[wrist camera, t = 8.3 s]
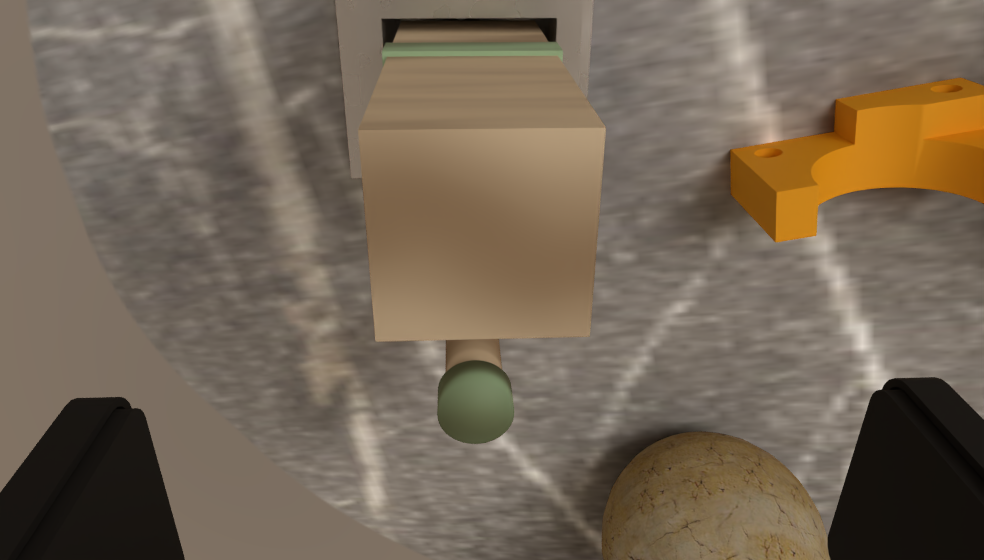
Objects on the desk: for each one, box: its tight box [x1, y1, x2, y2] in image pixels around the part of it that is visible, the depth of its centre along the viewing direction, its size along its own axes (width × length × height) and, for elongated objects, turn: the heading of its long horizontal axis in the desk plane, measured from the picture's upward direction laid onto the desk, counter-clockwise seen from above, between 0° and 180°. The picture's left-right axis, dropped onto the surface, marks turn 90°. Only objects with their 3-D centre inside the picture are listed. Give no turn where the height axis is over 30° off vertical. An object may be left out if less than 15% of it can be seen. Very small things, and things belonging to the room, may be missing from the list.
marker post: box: [437, 339, 514, 444], centre depth 35 cm, size 6×6×14 cm
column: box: [358, 20, 606, 342], centre depth 23 cm, size 6×6×15 cm
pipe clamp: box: [730, 78, 984, 242], centre depth 36 cm, size 12×4×6 cm, turn 99°
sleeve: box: [335, 0, 594, 178], centre depth 32 cm, size 12×12×10 cm
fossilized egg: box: [602, 431, 830, 560], centre depth 43 cm, size 13×13×15 cm
